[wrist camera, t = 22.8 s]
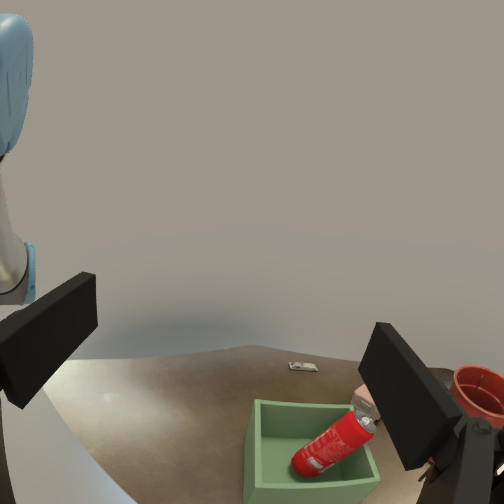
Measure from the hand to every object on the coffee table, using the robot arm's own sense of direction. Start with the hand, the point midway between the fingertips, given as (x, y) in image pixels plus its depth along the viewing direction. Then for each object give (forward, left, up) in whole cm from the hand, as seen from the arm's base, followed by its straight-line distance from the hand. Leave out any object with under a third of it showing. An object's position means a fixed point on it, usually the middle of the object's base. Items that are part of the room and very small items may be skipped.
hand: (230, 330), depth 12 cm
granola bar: (+18, +42, -32) cm, 56 cm away
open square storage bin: (+13, +13, -32) cm, 37 cm away
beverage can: (+13, +13, -30) cm, 35 cm away
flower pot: (+44, +13, -32) cm, 56 cm away
